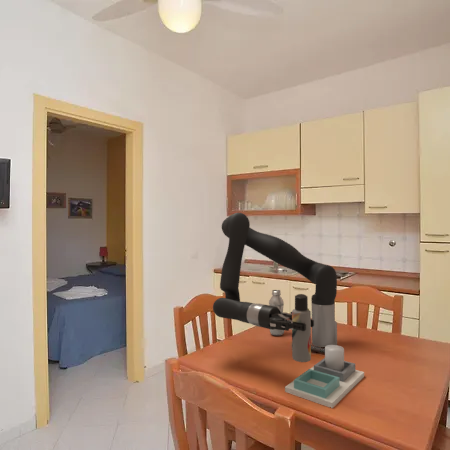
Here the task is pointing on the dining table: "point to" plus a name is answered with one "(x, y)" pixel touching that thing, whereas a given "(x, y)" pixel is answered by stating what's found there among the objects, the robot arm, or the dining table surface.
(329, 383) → the tray
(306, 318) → the lotion bottle
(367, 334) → the dining table surface
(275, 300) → the plastic bottle
